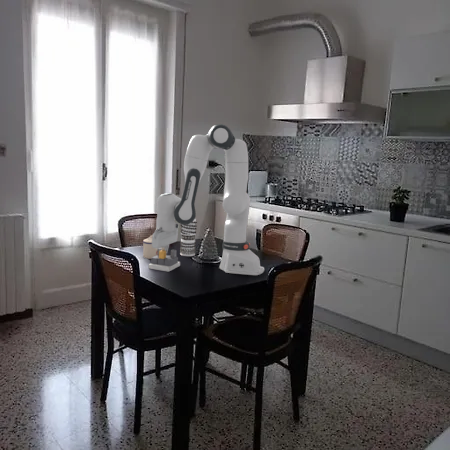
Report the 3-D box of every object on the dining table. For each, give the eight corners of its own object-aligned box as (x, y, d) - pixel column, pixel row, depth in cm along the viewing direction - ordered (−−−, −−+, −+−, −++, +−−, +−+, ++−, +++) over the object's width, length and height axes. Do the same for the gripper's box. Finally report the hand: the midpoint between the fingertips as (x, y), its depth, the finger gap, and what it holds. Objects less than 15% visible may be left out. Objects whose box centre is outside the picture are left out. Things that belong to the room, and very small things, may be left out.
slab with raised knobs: (179, 265, 222) (180, 249, 220) (168, 271, 211) (169, 254, 209) (160, 262, 226) (160, 246, 224) (148, 268, 215) (148, 251, 213)
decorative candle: (197, 252, 250) (198, 209, 245) (194, 256, 240) (196, 211, 236) (181, 251, 250) (182, 208, 246) (178, 255, 241) (179, 210, 237)
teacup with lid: (159, 259, 232) (160, 237, 230) (142, 259, 231) (142, 237, 229) (159, 253, 244) (160, 233, 242) (143, 253, 243) (143, 232, 241)
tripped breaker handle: (165, 257, 216) (166, 250, 215) (163, 258, 213) (163, 251, 213) (161, 257, 217) (161, 250, 216) (158, 258, 214) (159, 251, 214)
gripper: (160, 230, 204) (160, 259, 207) (180, 223, 223) (179, 250, 225) (148, 228, 206) (148, 257, 209) (169, 222, 225) (168, 248, 228)
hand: (164, 253), depth 217 cm, fingers closed
